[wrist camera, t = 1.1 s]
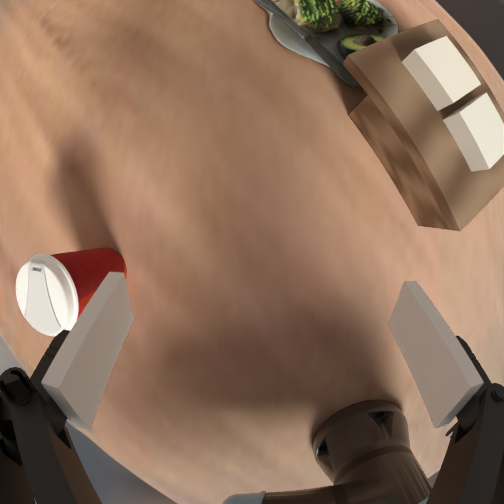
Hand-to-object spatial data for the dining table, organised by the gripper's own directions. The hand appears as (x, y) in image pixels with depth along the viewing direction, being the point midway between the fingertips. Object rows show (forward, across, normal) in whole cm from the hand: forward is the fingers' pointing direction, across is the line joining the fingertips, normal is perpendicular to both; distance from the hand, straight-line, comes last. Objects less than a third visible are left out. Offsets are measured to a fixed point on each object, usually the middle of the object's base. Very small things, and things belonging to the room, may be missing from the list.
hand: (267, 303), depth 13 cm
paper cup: (+19, +18, +11) cm, 28 cm away
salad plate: (+30, -10, -21) cm, 38 cm away
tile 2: (+17, -18, -15) cm, 28 cm away
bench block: (+24, -20, -9) cm, 33 cm away
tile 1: (+15, -22, -10) cm, 28 cm away
